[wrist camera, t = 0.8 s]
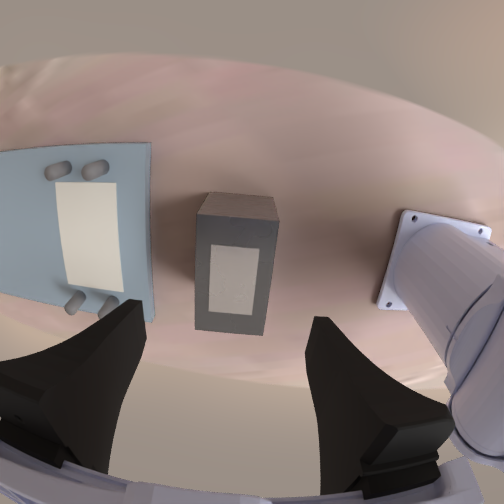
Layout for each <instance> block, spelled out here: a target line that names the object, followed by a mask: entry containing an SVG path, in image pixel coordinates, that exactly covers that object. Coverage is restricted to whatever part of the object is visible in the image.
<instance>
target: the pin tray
mask: <svg viewBox="0 0 504 504" xmlns="http://www.w3.org/2000/svg"><path fill="white" fill-rule="evenodd" d="M150 160H151V143H148V142H127V143H89V144H70V145H56V146H44V147H33V148H24V149H16V150H8V151H0V292H1V293H5V294H9V295H13V296H17V297H21V298H25V299H29V300H33V301H37V302H42V303H46V304H51V305H55V306H60V307H64V309H65V311H66V312H67V313H68V314H69V315H74V314H75V313H76V312H77V310H80V311H85V312H90V313H96V314H98V317H99V319H101V318H103V317H104V316H106V315H107V314H108V313H110V312H111V311H112V310H114V309H115V308H117V307H118V306H119V305H121V304H122V303H123V302H125V301H126V300H128V299H135V300H142V303H143V312H144V321H145V322H151V323H152V321H153V318H154V316H155V309H154V297H153V283H152V265H151V241H150Z"/></svg>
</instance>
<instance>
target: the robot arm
mask: <svg viewBox="0 0 504 504" xmlns="http://www.w3.org/2000/svg"><path fill="white" fill-rule="evenodd" d="M414 215H415V219H414V220H413V221H412V217H413V216H414ZM479 229H480V231H479ZM478 231H479V232H478ZM490 235H491V228H490V227H488V226H486V225H482V224H477V223H473V222H468V221H464V220H459V219H454V218H449V217H444V216H439V215H434V214H429V213H424V212H419V211H413V210H405V211H403V213H402V215H401V218H400V222H399V226H398V230H397V234H396V238H395V242H394V246H393V249H392V253H391V257H390V260H389V264H388V267H387V271H386V274H385V277H384V280H383V284H382V287H381V290H380V293H379V296H378V299H377V303H376V305H377V307H378V308H379V309H381V310H409V311H410V313H411V314H412V316H413V317H414V318H415V320H416V321H417V323H418V324H419V326H420V327H421V329H422V330H423V332H424V333H425V335H426V336H427V338H428V339H429V341H430V342H431V344H432V345H433V347H434V348H435V350H436V351H437V353H438V355H439V356H440V358H441V359H442V361H443V363H444V364H445V366H446V367H447V370H448V373H447V377H446V379H445V380H444V383H445V384H446V386H447V388H448V390H449V391H450V393H451V396H450V398H449V399H448V401H447V403H446V405H445V404H442V403H440V402H437V401H434V400H432V399H430V398H427V397H425V396H423V395H421V394H419V393H417V392H415V391H413V390H411V389H409V388H408V387H406V386H404V385H403V384H401V383H399V382H398V381H396V380H395V379H393V378H392V377H390V376H389V375H387V374H386V373H385V372H384V371H382V370H381V369H380V368H378V367H377V366H376V365H375V364H373V363H372V362H371V361H370V360H369V359H368V358H367V357H366V356H365V355H364V354H362V353H361V352H360V351H359V350H358V349H357V348H356V347H355V346H354V345H353V343H352V342H351V341H350V340H349V339H348V338H347V337H346V336H345V335H344V334H343V333H342V331H341V330H340V329H339V328H338V327H337V326H336V325H335V324H334V322H333V321H332V320H331V319H330V318H329V317H319V316H314V320H313V324H312V328H311V332H310V336H309V339H308V343H307V347H306V350H305V360H306V371H307V376H308V381H309V386H310V390H311V394H312V399H313V403H314V407H315V412H316V417H317V423H318V434H319V447H320V469H321V470H320V472H321V490H320V496H307V497H286V498H262V497H259V496H252V495H244V494H232V493H218V492H208V491H199V490H192V489H184V488H178V487H171V486H166V485H161V484H155V483H147V482H133V481H128V480H124V479H121V478H117V477H113V476H110V475H108V468H109V460H110V454H111V448H112V443H113V438H114V433H115V429H116V424H117V420H118V416H119V412H120V408H121V405H122V402H123V399H124V396H125V394H126V392H127V389H128V387H129V385H130V382H131V380H132V378H133V375H134V373H135V371H136V368H137V366H138V364H139V361H140V359H141V356H142V353H143V349H144V346H145V342H146V338H147V337H146V329H145V321H144V312H143V303H142V300H135V299H128V300H126V301H125V302H123V303H122V304H121V305H119V306H118V307H117V308H115V309H114V310H112V311H111V312H110V313H108V314H107V315H106V316H104V317H103V318H101V319H100V320H99V321H97V322H96V323H94V324H93V325H91V326H90V327H88V328H86V329H85V330H83V331H82V332H80V333H79V334H77V335H75V336H73V337H71V338H70V339H68V340H66V341H64V342H62V343H60V344H57V345H55V346H52V347H50V348H48V349H46V350H43V351H40V352H37V353H34V354H31V355H28V356H24V357H20V358H16V359H11V360H6V361H1V362H0V417H1V420H0V493H2V494H3V495H5V496H6V497H8V498H9V499H11V500H13V501H14V502H17V503H18V504H483V503H484V498H483V496H482V493H481V491H480V488H479V486H478V483H477V481H476V478H475V476H474V474H473V471H472V469H471V467H470V464H469V462H468V459H470V460H472V461H474V462H477V463H479V464H484V465H488V466H492V467H495V468H497V469H499V470H501V471H502V472H504V250H503V249H502V248H500V247H499V246H497V245H496V244H494V243H493V242H491V241H490V240H489V239H490ZM388 302H390V303H389V304H388V305H386V304H387V303H388ZM448 437H449V438H450V440H451V441H452V443H453V444H454V446H455V447H456V448H457V449H458V450H459V452H461V453H462V454H463V455H464V456H463V457H460V458H457V459H454V460H451V461H448V462H446V463H443V464H442V465H440V466H437V463H436V460H438V459H439V455H438V452H437V449H438V448H439V447H440V446H441V445H442V444H443V443H444V442H445V441H446V440H447V439H448ZM467 458H468V459H467Z"/></svg>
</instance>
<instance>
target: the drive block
mask: <svg viewBox="0 0 504 504" xmlns="http://www.w3.org/2000/svg"><path fill="white" fill-rule="evenodd" d="M278 228H279V218H278V214H277V210H276V207H275V203H274V199H273V197H265V196H255V195H244V194H233V193H221V192H209V194H208V196H207V197H206V199H205V201H204V202H203V204H202V206H201V207H200V209H199V211H198V212H197V218H196V249H195V330H204V331H214V332H224V333H235V334H247V335H261V336H263V332H264V325H265V318H266V312H267V305H268V298H269V292H270V285H271V278H272V271H273V264H274V257H275V250H276V242H277V235H278Z"/></svg>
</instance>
